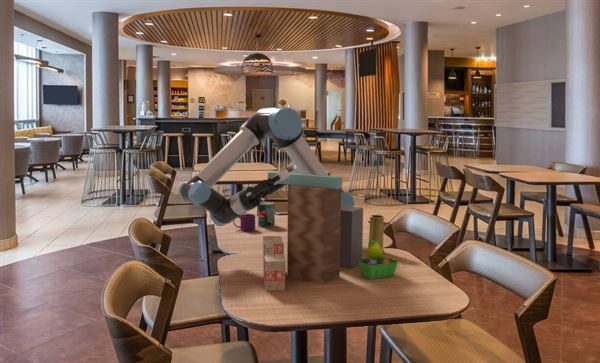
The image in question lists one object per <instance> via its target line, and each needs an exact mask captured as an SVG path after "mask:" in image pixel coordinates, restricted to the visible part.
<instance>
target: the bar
mask: <svg viewBox="0 0 600 363" xmlns="http://www.w3.org/2000/svg"><path fill="white" fill-rule="evenodd" d="M279 172H280V171H269V172H267V179H269V178H270V179H271V177H273V176H275V175H276V174H278V173H279ZM289 174H290V177H288V178H286V179H285V180H283V181H281V182H280V183H278V184H287V185H288V186H291V185H298V186H309V187H320V188H331V189H339V188H342V189H343V176H340V175H339V176H336V175H329V176H326V175H313V174H300V173H289ZM287 185H286V186H287Z"/></svg>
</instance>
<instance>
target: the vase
mask: <svg viewBox="0 0 600 363" xmlns="http://www.w3.org/2000/svg"><path fill="white" fill-rule="evenodd" d="M384 217H385V216H384V215H380V214H372V215H370V216H369V234H368V235H369V236H368V242H369V241H371V240H374V241H376V242H377V243H378V244H379V245H380V246H381V248H382V249H383V253H382V254H384V252H385V250H384V223H385V221H384V220H385V218H384Z"/></svg>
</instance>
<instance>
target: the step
mask: <svg viewBox="0 0 600 363" xmlns="http://www.w3.org/2000/svg"><path fill="white" fill-rule="evenodd" d="M363 232H364V207H358V206H354V207H351V206H342V205H341V228H340V268H347V269H353V268H355V267H357V266H359V265H360V263H359V260H361V259H363V241H364V240H363V238H364V237H363V236H364V233H363Z"/></svg>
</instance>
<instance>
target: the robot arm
mask: <svg viewBox="0 0 600 363" xmlns="http://www.w3.org/2000/svg"><path fill="white" fill-rule="evenodd" d="M302 120H303V119H302V117H301V116H300V114H299V112H297V111H296V110H295V109H293V108H291V107H286V106H277V107H275V106H274V107H270V106H269V107H267V106H266V107H264V108H261V109H259V110H257V111H255V113H253V114H252V115H251V116H250V117H249V118H247V120H246V121H245V122H244V123H243V124H242V125H241V126H239V131H238V132H237V133H236V135H234V136H233V137H232V138H231V139H230V140H229V141H228V142H227V143H226V144H225V145H224V146H223V147H222V148H221V149H220V150H219V151H218V152H217V153H216V154H215V155H214V156H213V157H212V158H211V159H210V160H209V161H208V162H207V163H206V164H204V166H203V167H202V168H201V169H200V170H199V171H197V173H195V175H194V176H193V177H192V178H191V179H190V180H187V181H183V182H182V183H181V184H180V185H179V187H178V195H179V197H180V198H181V199H182V200H183V201H185V202H186V203H191V204H193V205H195V206H198V207H200V208H202V209H204V210H205V211H207V212H209V217H210V220H211V221H212V222H213V224H214V225H216V226H219V227H224V226H226V225H227V224H231V223H233V220H234V221H235V220H236V219H239V218H238V217H241V215H243V214H244V215H246V214H247V213H248V212H250V211H251V210H253V209H255V208H256V207H257V208H258V206H259V205H260V203H261V202H262V199H264V198H266V197H267V196H268V195H272V194H273V193H275V192H276V191H278V190H280V189H282V188H283V187H286V186H287V184H278V183H280V182H281V181H283V180H285V179H286V178H288V177H290V174H289V173H300V174H313V175H326V176H330V175H329V174H328V172H327V170H326V169H325V168H324V166H323V165H322V163H321V162H320V161H319V158H318V157H317V156H316V154H315V153H314V151H313V150H312V148H311V147H310V146H309V144H308V143H307V141H306V139H305V138H304V132H305V131H304V129H303V125H302V124H303V121H302ZM268 138H269V139H271V140H272V141H273V142H274V144H275V145H276V148H278V149H280V150H284V151H285V153H286V154H287V156H288V157H289V159H290V160H291V161H292V163H293V164H294V165H295V167H296V168H293V170H291V171H289V170H288V168H284V169H283V170H281V171H278V172H279V173H278V174H276V175H275V176H273V177H271V179H270V178H269V179H268V178H267V179H263V180H262V181H260V182H259V183H257V184H256V185H254V186H247V187H245V188H243V189H242V190H240V191H238V192H237V193H235V194H234V195H231V196H230V197H229V198H227V197H225V196H224V195H222V194H221V193H220V192H218V191H217V190H215V189H214V188H212V187H213V186H215V185H216V183H218V182H219V181H220V179H221V178H223V176H225V175H226V174H227V173H228V172H229V170H230V169H232V167H233V166H234V165H235V164H237V162H238V161H240V159H242V157H243V156H244V155H246V153H248V151H249V150H251V148H252V147H253V146H259V144H260V143H261V142H262V141H264V140H266V139H268ZM353 196H354V195H352V194H351V193H350V192H348V191H344V190H343V187H342V188H341V205H342V206H351V207H355V199H354V197H353Z"/></svg>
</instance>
